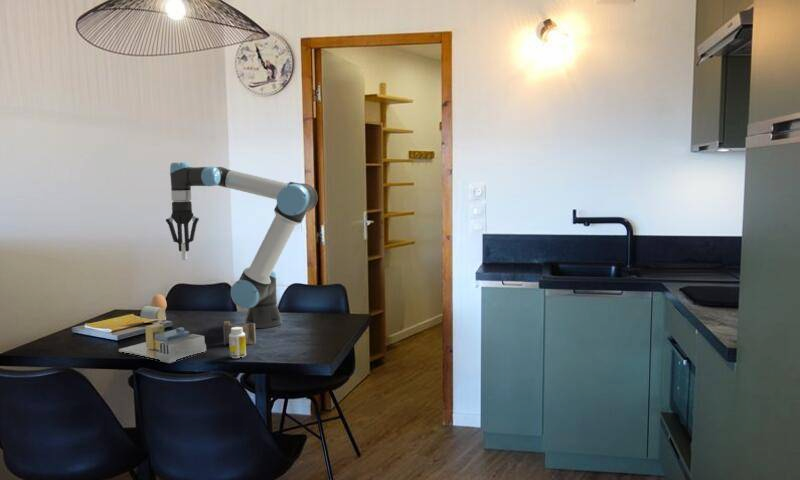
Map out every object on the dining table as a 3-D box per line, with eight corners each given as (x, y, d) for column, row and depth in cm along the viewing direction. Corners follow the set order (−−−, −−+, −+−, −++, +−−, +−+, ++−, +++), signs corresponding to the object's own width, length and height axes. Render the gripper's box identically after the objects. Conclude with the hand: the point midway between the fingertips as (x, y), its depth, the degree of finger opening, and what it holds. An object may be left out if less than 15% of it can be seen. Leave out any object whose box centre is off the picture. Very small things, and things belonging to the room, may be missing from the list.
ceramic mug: (157, 326, 278) (156, 308, 278) (140, 325, 280) (139, 307, 279) (171, 321, 289) (170, 303, 288) (154, 320, 290) (153, 303, 289)
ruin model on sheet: (224, 346, 246) (222, 320, 245) (225, 344, 249) (224, 319, 248) (254, 345, 247) (253, 319, 246) (255, 343, 250) (254, 318, 249)
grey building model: (119, 351, 239) (117, 330, 238) (156, 341, 252) (155, 321, 251) (169, 363, 224) (168, 340, 223) (206, 351, 237) (205, 330, 236)
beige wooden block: (146, 347, 239) (145, 326, 238) (158, 344, 243) (156, 323, 242) (166, 352, 233) (164, 329, 232) (177, 348, 237) (176, 326, 236)
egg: (149, 313, 303) (148, 294, 302) (163, 311, 308) (162, 292, 307) (155, 315, 298) (154, 296, 297) (169, 313, 303) (168, 294, 302)
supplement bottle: (246, 353, 234) (245, 325, 233) (245, 358, 228) (244, 329, 227) (230, 354, 233) (229, 326, 232) (229, 359, 227) (228, 330, 226)
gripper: (199, 200, 269) (202, 257, 271) (166, 201, 267) (169, 258, 270) (196, 201, 261) (199, 260, 264) (162, 201, 260) (165, 261, 262)
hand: (184, 259), depth 267 cm, fingers closed
